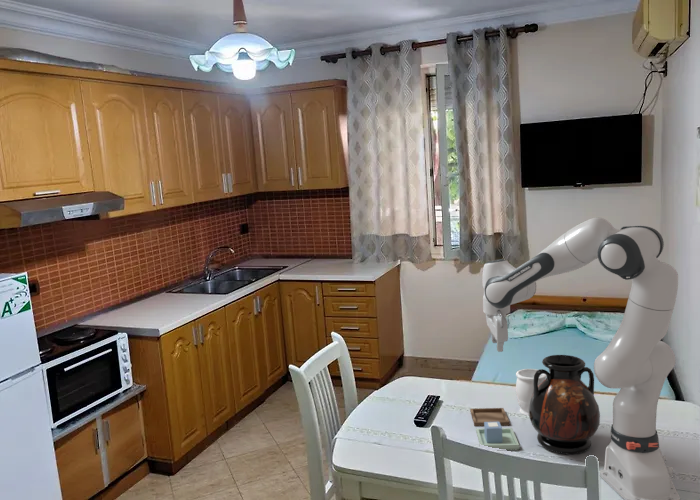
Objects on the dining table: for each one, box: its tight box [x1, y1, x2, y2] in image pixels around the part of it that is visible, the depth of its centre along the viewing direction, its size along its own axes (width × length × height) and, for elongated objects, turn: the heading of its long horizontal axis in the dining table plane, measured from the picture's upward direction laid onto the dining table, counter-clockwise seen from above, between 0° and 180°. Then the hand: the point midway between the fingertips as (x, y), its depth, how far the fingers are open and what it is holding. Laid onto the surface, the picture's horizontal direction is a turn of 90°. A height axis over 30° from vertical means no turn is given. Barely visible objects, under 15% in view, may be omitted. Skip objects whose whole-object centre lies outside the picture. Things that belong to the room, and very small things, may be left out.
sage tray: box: [475, 427, 520, 451], centre depth 192 cm, size 12×12×2 cm
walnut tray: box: [469, 407, 510, 427], centre depth 208 cm, size 12×12×2 cm
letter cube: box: [483, 422, 503, 443], centre depth 192 cm, size 5×5×5 cm
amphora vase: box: [528, 354, 601, 455], centre depth 186 cm, size 22×22×28 cm
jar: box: [515, 368, 546, 416], centre depth 211 cm, size 11×10×15 cm
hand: (497, 346), depth 198 cm, fingers open, 8 cm apart
